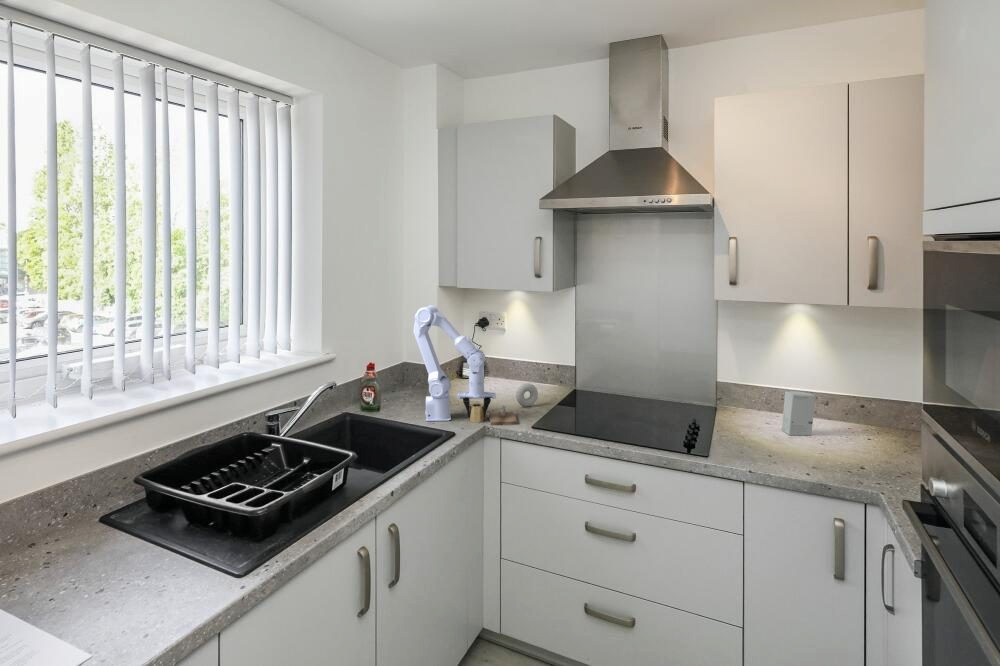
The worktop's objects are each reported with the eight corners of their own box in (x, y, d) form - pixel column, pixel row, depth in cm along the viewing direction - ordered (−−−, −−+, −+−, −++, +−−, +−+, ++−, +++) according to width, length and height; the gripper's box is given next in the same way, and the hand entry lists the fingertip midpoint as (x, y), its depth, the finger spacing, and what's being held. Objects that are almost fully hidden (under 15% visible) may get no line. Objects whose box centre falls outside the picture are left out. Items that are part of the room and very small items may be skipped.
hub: (470, 422, 213) (470, 407, 212) (469, 418, 218) (469, 403, 217) (483, 422, 213) (483, 406, 212) (483, 418, 218) (483, 403, 218)
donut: (535, 404, 239) (535, 381, 237) (539, 406, 236) (539, 383, 234) (514, 406, 235) (514, 383, 233) (517, 408, 232) (518, 385, 230)
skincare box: (789, 435, 198) (792, 394, 196) (780, 430, 204) (783, 390, 202) (812, 435, 198) (816, 395, 196) (803, 430, 204) (807, 390, 202)
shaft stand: (490, 425, 210) (490, 410, 209) (488, 415, 222) (488, 401, 222) (517, 424, 211) (517, 410, 210) (513, 414, 223) (513, 401, 223)
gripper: (457, 385, 209) (458, 420, 211) (496, 384, 210) (496, 419, 212) (457, 380, 216) (457, 415, 218) (494, 380, 217) (494, 414, 219)
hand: (476, 416), depth 215 cm, fingers closed on hub, 5 cm apart
